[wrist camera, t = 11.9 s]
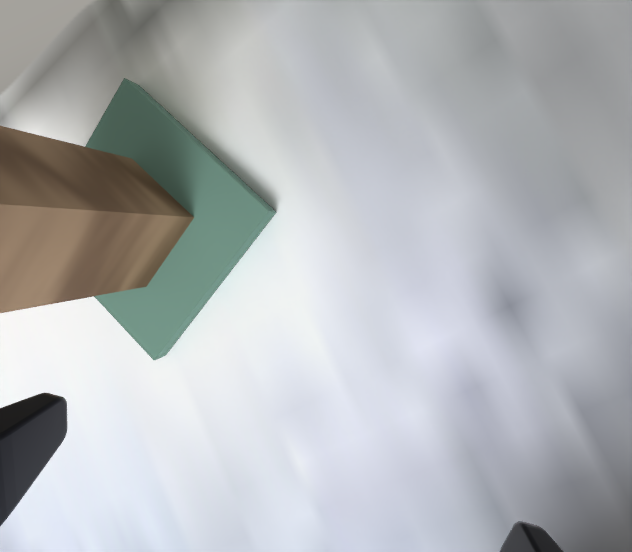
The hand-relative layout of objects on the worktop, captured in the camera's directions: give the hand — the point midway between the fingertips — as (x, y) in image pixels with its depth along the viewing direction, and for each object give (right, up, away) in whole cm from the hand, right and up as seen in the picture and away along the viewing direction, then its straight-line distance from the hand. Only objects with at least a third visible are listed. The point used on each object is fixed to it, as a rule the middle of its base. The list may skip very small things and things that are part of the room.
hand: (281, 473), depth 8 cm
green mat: (-9, +7, +15) cm, 19 cm away
